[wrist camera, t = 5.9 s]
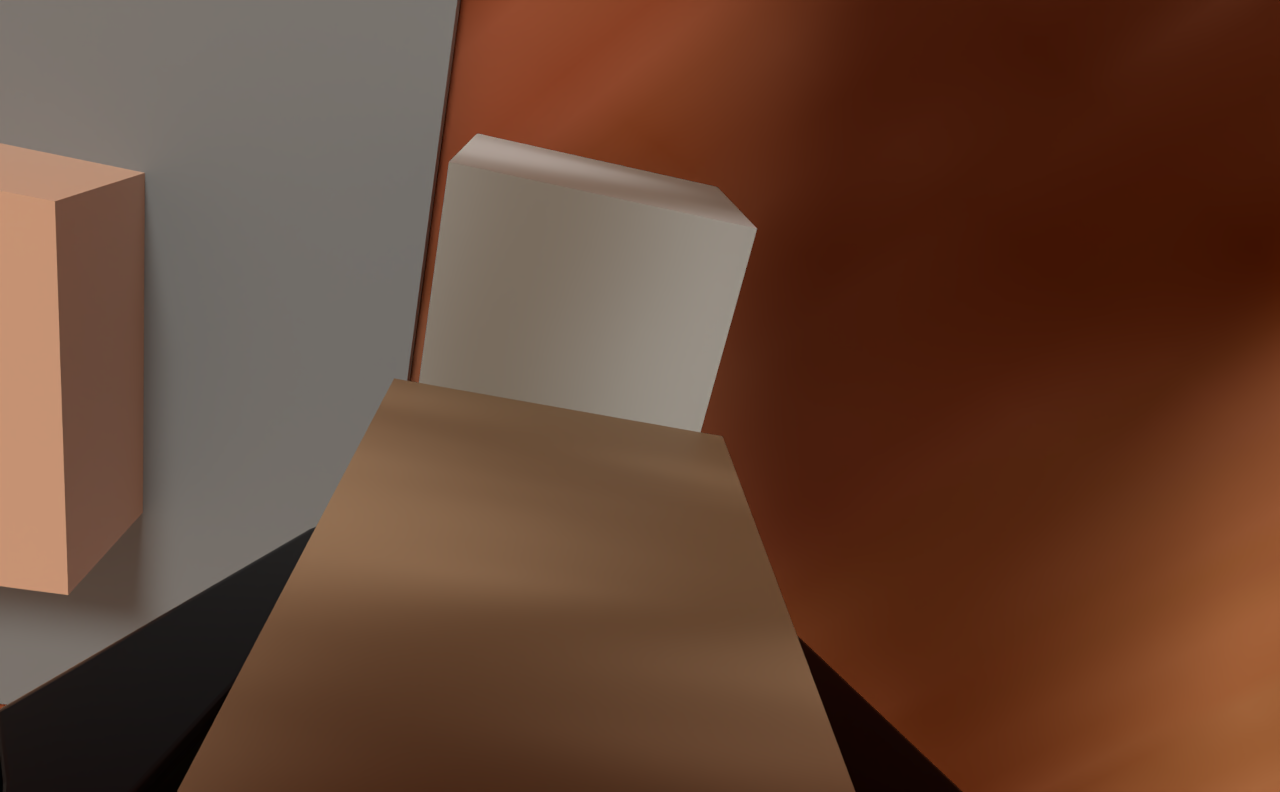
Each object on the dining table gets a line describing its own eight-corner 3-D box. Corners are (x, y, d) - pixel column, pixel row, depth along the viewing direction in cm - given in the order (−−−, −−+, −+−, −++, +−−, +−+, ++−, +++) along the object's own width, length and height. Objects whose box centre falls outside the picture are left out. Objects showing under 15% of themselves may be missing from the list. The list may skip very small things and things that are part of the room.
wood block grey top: (735, 191, 11) (1312, 739, 2) (605, 685, 14) (654, 1703, 5) (456, 128, 10) (-81, 550, 2) (383, 657, 13) (54, 1736, 5)
